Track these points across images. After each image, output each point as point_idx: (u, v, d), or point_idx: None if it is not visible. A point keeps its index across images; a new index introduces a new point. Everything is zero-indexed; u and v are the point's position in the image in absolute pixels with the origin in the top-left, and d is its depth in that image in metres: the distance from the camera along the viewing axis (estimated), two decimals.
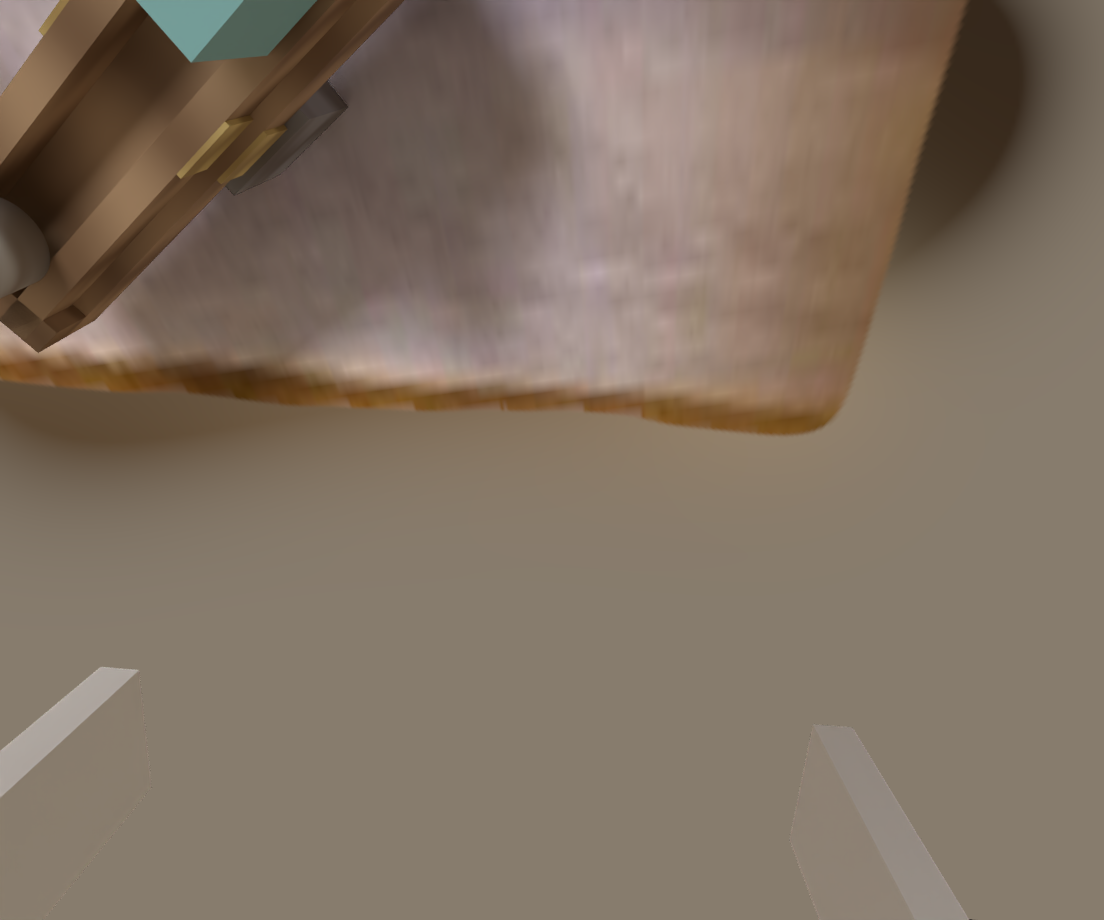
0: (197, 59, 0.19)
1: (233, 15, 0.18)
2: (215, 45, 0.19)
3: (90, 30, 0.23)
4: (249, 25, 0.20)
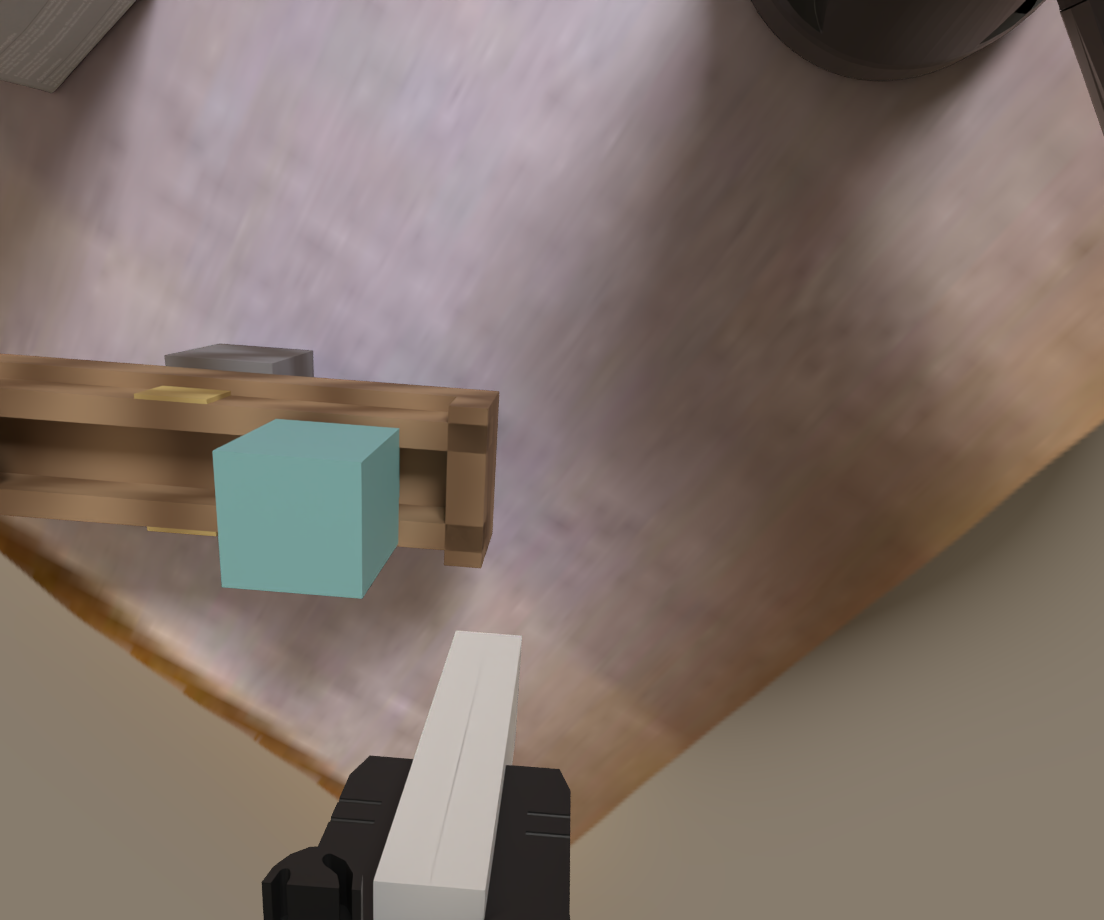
0: (228, 585, 0.24)
1: (273, 589, 0.24)
2: None
3: (172, 423, 0.28)
4: None
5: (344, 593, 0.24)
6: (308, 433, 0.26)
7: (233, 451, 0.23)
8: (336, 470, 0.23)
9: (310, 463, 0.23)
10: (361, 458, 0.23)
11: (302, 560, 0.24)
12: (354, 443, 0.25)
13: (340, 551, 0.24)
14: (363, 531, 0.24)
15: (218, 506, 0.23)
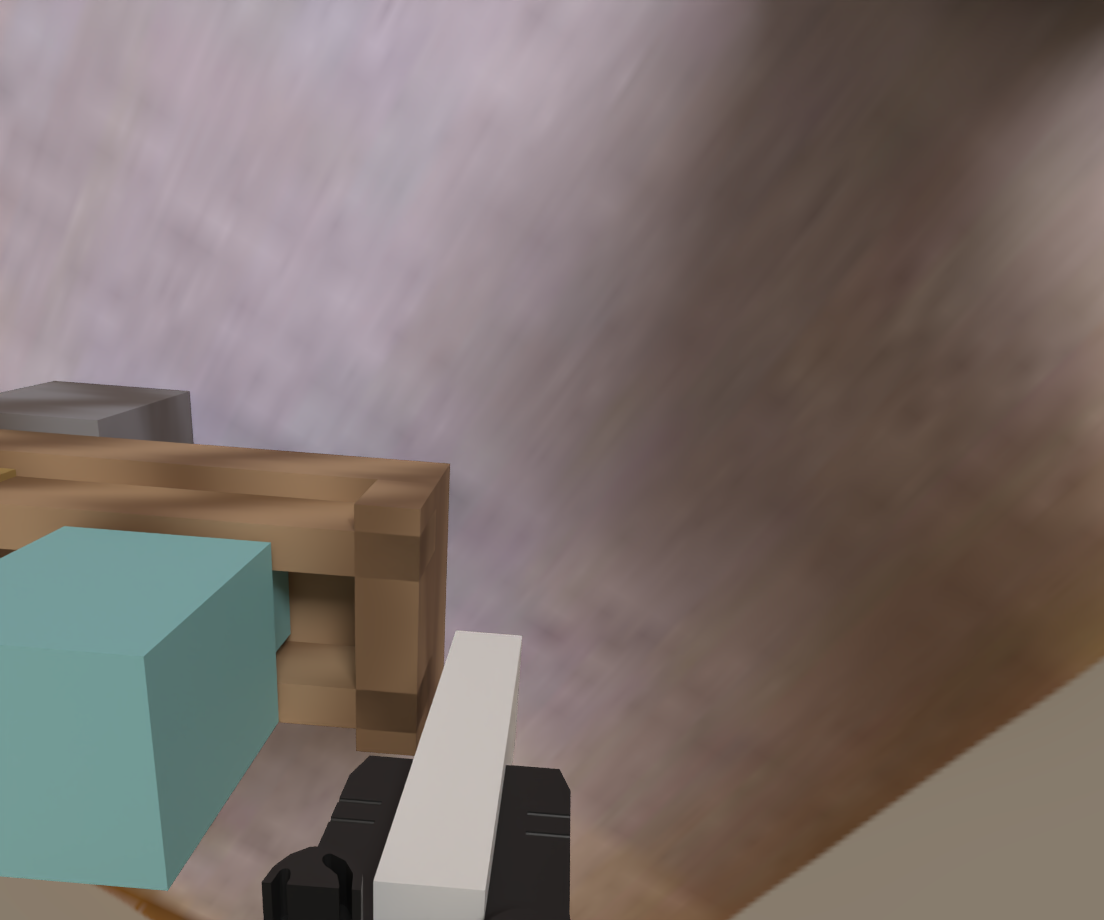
0: None
1: (5, 871, 0.13)
2: None
3: None
4: None
5: (133, 882, 0.13)
6: (95, 565, 0.15)
7: None
8: (96, 670, 0.12)
9: (44, 658, 0.12)
10: (151, 641, 0.12)
11: (49, 826, 0.13)
12: (165, 591, 0.14)
13: (119, 811, 0.12)
14: (163, 774, 0.12)
15: None
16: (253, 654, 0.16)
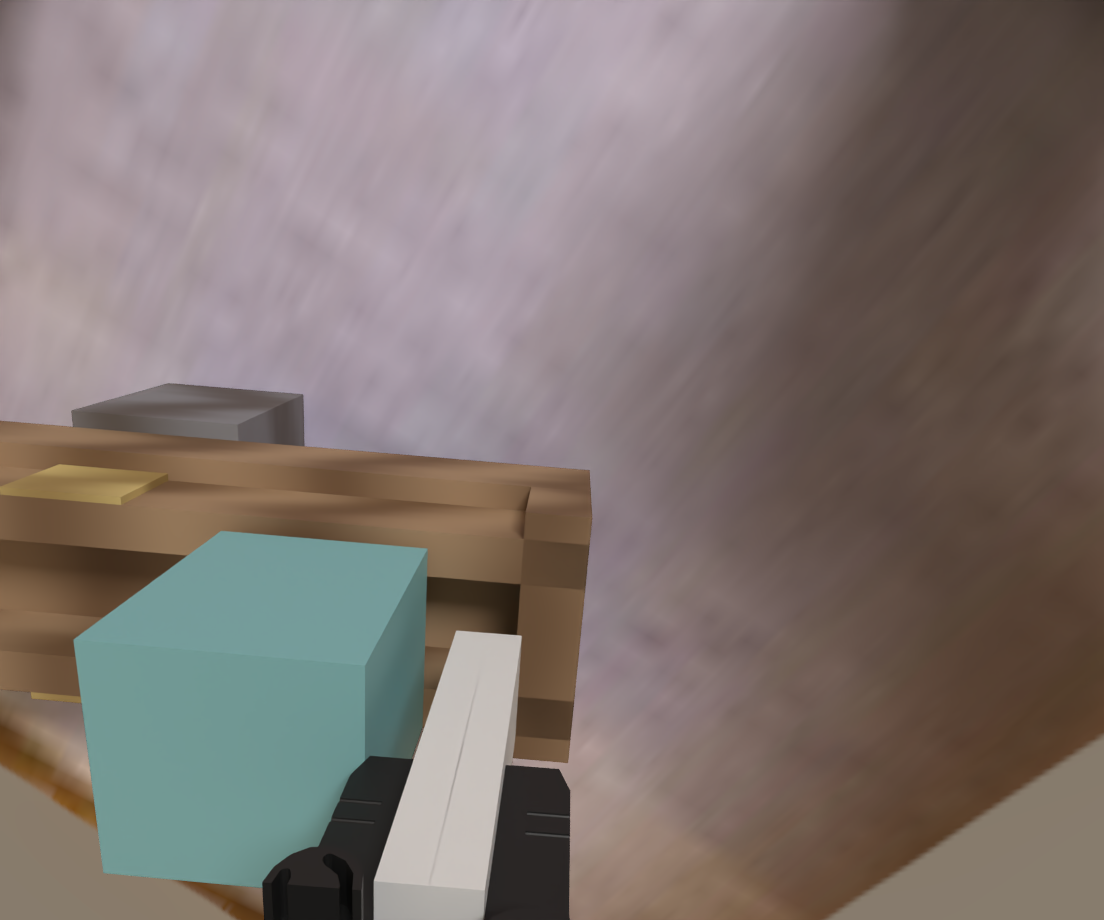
0: (117, 865, 0.13)
1: (199, 876, 0.13)
2: None
3: (65, 535, 0.17)
4: None
5: None
6: (271, 571, 0.15)
7: (115, 640, 0.12)
8: (316, 678, 0.12)
9: (264, 665, 0.12)
10: (365, 650, 0.12)
11: (252, 833, 0.13)
12: (352, 598, 0.14)
13: (323, 818, 0.12)
14: None
15: (90, 737, 0.12)
16: (414, 660, 0.16)
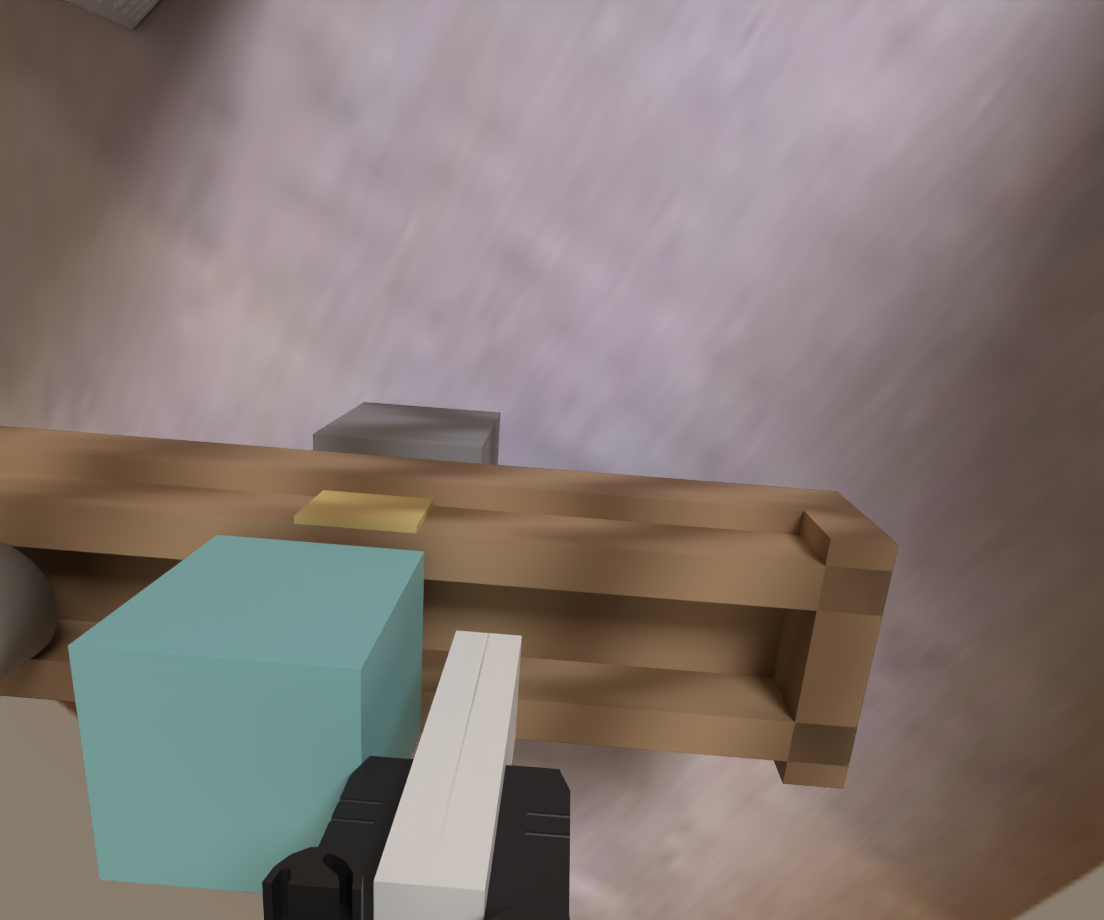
0: (113, 871, 0.13)
1: (196, 882, 0.13)
2: None
3: None
4: None
5: None
6: (266, 575, 0.15)
7: (109, 645, 0.12)
8: (312, 683, 0.12)
9: (260, 670, 0.12)
10: (360, 654, 0.12)
11: (248, 838, 0.13)
12: (348, 602, 0.14)
13: (320, 823, 0.12)
14: None
15: (85, 744, 0.12)
16: (411, 663, 0.16)
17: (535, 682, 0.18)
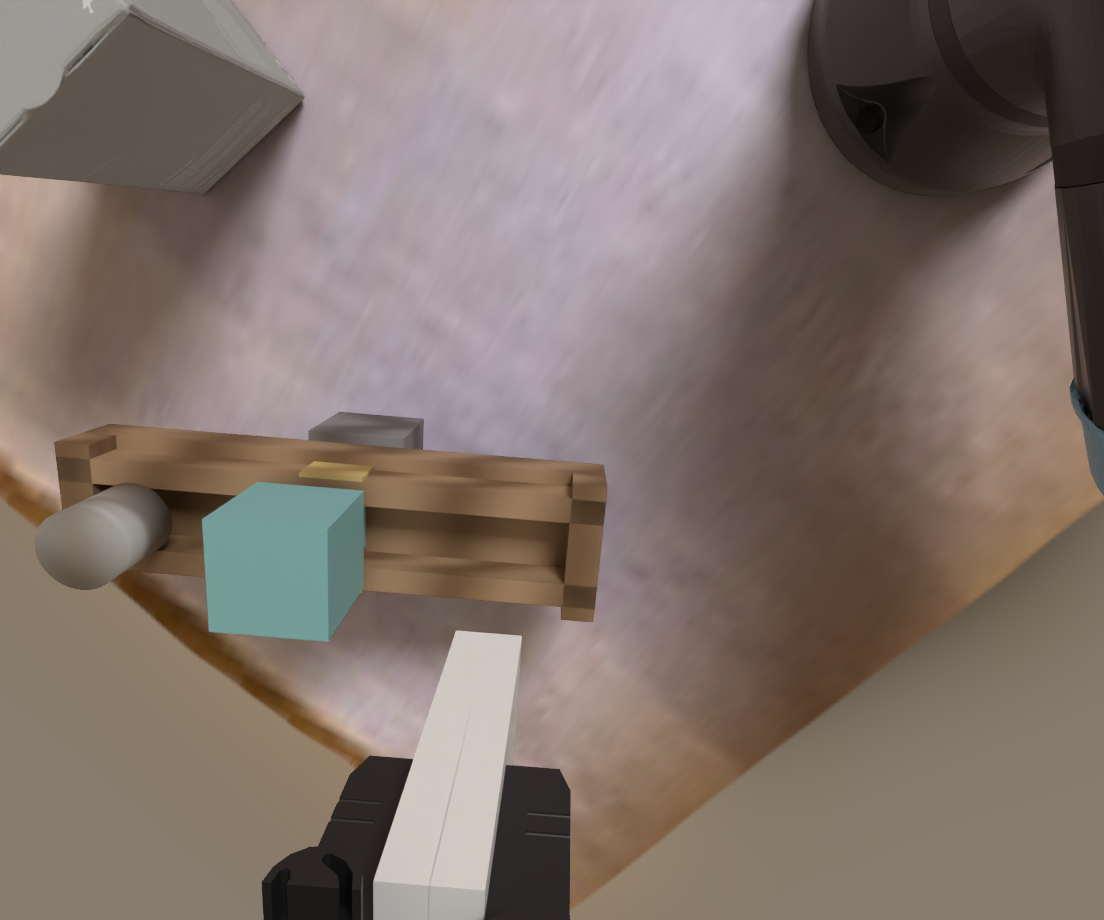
0: (214, 629, 0.29)
1: (252, 634, 0.29)
2: None
3: None
4: None
5: (313, 637, 0.28)
6: (284, 498, 0.30)
7: (219, 519, 0.27)
8: (306, 535, 0.27)
9: (284, 530, 0.27)
10: (327, 525, 0.27)
11: (277, 610, 0.28)
12: (323, 508, 0.29)
13: (309, 602, 0.28)
14: (329, 586, 0.28)
15: (206, 564, 0.28)
16: (356, 546, 0.31)
17: (428, 566, 0.34)
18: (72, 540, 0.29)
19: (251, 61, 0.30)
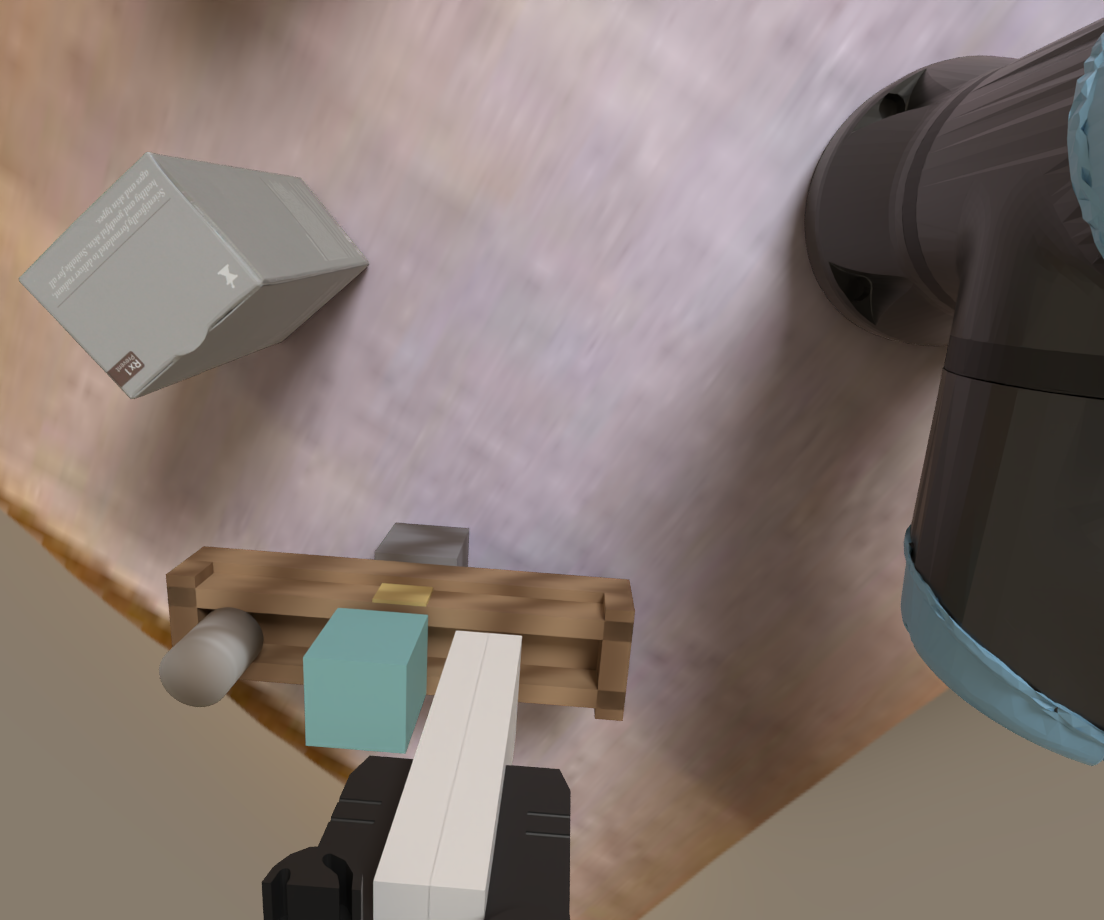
0: (309, 743, 0.34)
1: (342, 746, 0.34)
2: None
3: None
4: None
5: (392, 750, 0.34)
6: (364, 627, 0.36)
7: (317, 657, 0.33)
8: (388, 670, 0.33)
9: (371, 665, 0.33)
10: (406, 660, 0.33)
11: (363, 728, 0.34)
12: (398, 639, 0.35)
13: (390, 722, 0.34)
14: (406, 708, 0.34)
15: (305, 693, 0.33)
16: (422, 663, 0.37)
17: None
18: (190, 667, 0.35)
19: (333, 259, 0.36)
